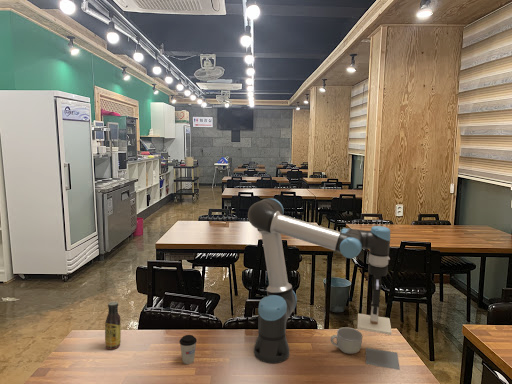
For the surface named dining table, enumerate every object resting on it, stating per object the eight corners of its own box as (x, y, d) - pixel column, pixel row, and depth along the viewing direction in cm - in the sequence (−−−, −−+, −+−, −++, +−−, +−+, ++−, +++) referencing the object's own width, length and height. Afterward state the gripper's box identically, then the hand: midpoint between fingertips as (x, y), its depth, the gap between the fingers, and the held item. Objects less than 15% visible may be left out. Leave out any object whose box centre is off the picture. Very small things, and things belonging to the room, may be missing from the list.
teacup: (357, 343, 165) (358, 327, 164) (365, 357, 154) (366, 339, 153) (326, 344, 165) (327, 327, 164) (332, 357, 154) (333, 339, 153)
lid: (357, 329, 149) (358, 310, 148) (358, 315, 161) (359, 298, 160) (391, 335, 145) (392, 315, 144) (389, 320, 158) (390, 302, 157)
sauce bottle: (102, 349, 157) (100, 305, 155) (111, 341, 164) (109, 299, 161) (115, 351, 156) (114, 306, 154) (124, 344, 162) (123, 300, 160)
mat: (365, 364, 149) (365, 363, 149) (365, 348, 161) (365, 347, 161) (399, 370, 145) (399, 369, 145) (397, 353, 158) (397, 352, 158)
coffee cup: (176, 360, 150) (176, 337, 149) (191, 354, 155) (191, 331, 154) (184, 368, 145) (184, 344, 144) (200, 361, 150) (200, 338, 148)
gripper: (389, 271, 141) (384, 329, 144) (386, 259, 157) (382, 312, 160) (368, 269, 143) (364, 326, 146) (368, 257, 159) (364, 309, 162)
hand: (374, 318), depth 153 cm, fingers closed on lid, 3 cm apart
